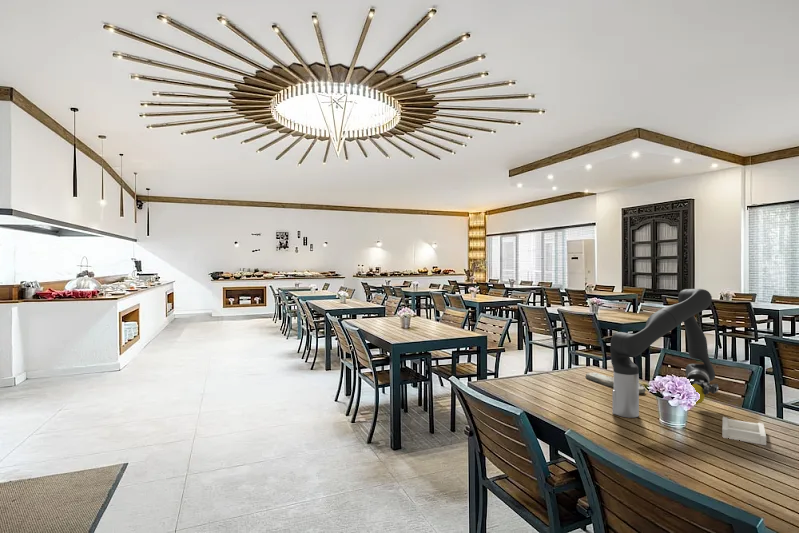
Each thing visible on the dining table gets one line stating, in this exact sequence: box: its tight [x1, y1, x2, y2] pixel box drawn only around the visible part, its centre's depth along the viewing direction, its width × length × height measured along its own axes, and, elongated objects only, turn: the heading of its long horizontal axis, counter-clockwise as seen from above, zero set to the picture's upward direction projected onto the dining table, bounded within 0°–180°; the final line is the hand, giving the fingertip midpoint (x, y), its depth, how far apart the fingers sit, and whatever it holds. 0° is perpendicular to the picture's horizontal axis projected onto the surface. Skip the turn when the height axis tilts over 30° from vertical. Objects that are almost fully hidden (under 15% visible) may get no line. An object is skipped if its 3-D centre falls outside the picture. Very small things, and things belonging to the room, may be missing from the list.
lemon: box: [692, 384, 706, 406], centre depth 169 cm, size 6×6×8 cm
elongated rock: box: [585, 371, 647, 395], centre depth 226 cm, size 35×5×10 cm
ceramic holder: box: [721, 416, 767, 446], centre depth 161 cm, size 12×15×3 cm
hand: (695, 390), depth 167 cm, fingers closed on lemon, 5 cm apart
